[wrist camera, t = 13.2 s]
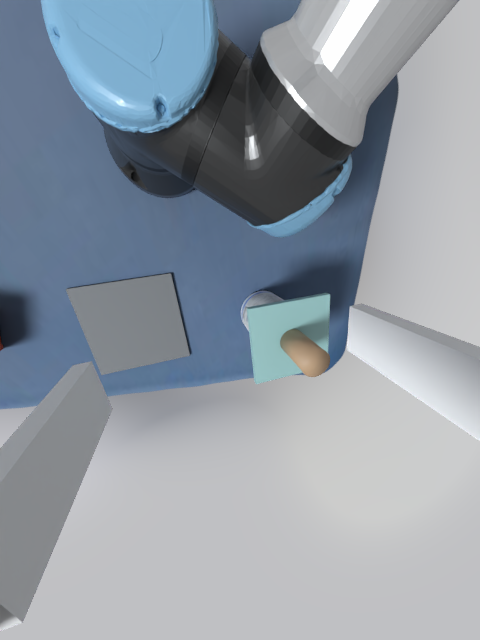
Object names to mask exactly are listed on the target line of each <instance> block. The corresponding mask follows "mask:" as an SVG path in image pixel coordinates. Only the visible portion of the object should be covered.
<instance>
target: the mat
mask: <svg viewBox="0 0 480 640" xmlns="http://www.w3.org/2000/svg"><path fill="white" fill-rule="evenodd" d="M66 291H67V294H68V296H69V299H70V301H71V303H72V306H73V308H74V310H75V313H76V315H77V318H78V320H79V322H80V325H81V327H82V329H83V332H84V334H85V337H86V339H87V341H88V344H89V346H90V349H91V351H92V353H93V356H94V358H95V360H96V363H97V365H98V368H99V370H100V372H101V375H103V374H108V373H113V372H117V371H122V370H126V369H131V368H135V367H140V366H145V365H149V364H154V363H158V362H163V361H167V360H172V359H177V358H181V357H186V356H190V353H189V348H188V344H187V340H186V335H185V331H184V327H183V322H182V318H181V314H180V309H179V305H178V301H177V296H176V292H175V288H174V284H173V279H172V275H171V273H168V274H161V275H154V276H148V277H141V278H135V279H128V280H121V281H115V282H108V283H102V284H95V285H88V286H82V287H75V288H68V289H66Z"/></svg>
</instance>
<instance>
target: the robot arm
mask: <svg viewBox="0 0 480 640" xmlns="http://www.w3.org/2000/svg"><path fill="white" fill-rule="evenodd" d="M458 1H459V0H301V3H300V5H299V7H298V9H297V11H296V13H295V14H294V15H293V16H292V18H291V19H290V20H289V21H286V22H284V23H282V24H279V25H277V26H275V27H272V28H270V29H267V30H265V31H264V32H263V34H262V36H261V39H260V41H259V44H258V46H257V49H256V51H255V54H254V56H253V58H252V60H251V59H250V58H248V57H247V56H246V55H245V54H244V53H243V52H242V51H241V50H240V49H239V48H238V47H237V46H236V45H235V44H234V43H233V42H232V41H231V40H230V39H229V38H228V37H226V36H225V35H224V34H223V33H222V32H221V31H220V30H219V29H218V19H217V13H216V9H215V5H214V1H213V0H41V5H42V12H43V16H44V21H45V25H46V28H47V31H48V34H49V38H50V41H51V43H52V45H53V48H54V50H55V52H56V55H57V57H58V59H59V61H60V63H61V64H62V66H63V68H64V70H65V71H66V73H67V76H68V79H69V81H70V83H71V85H72V86H73V88H74V90H75V92H76V93H77V94H78V95H79V97H80V98H81V100H82V101H83V102H85V104H86V106H87V107H88V108H89V109H90V110H91V111H92V112H93V114H94V115H95V116H96V118H97V119H98V120H99V122H100V123H101V124H102V126H103V127H104V134H105V138H106V142H107V145H108V148H109V151H110V153H111V155H112V157H113V159H114V161H115V163H116V164H117V166H118V167H119V169H120V170H121V171H122V172H123V174H124V175H125V176H126V177H127V178H128V179H129V180H130V181H131V182H132V183H133V184H134V185H136V186H137V187H138V188H140V189H141V190H143V191H144V192H146V193H149V194H151V195H154V196H157V197H162V198H174V197H179V196H182V195H184V194H186V193H188V192H190V191H191V190H192V189H194V188H196V189H197V190H199V191H200V192H202V193H204V194H205V195H207V196H208V197H210V198H211V199H213V200H215V201H216V202H218V203H219V204H221V205H223V206H224V207H226V208H227V209H229V210H230V211H232V212H234V213H235V214H237V215H238V216H240V217H242V218H243V219H245V220H246V221H247V223H248V224H249V225H250V226H252V227H255V228H258V229H261V230H262V231H264V232H266V233H268V234H269V235H271V236H274V237H287V236H291V235H294V234H296V233H298V232H300V231H302V230H303V229H305V228H306V227H308V226H309V225H310V224H312V223H313V222H314V221H316V220H317V219H318V218H319V217H320V216H321V215H322V214H323V213H324V212H325V211H326V210H327V209H328V208H329V207H330V206H331V204H332V203H333V202H334V196H336V195H337V194H338V193H340V192H341V191H342V190H343V188H344V186H345V185H346V183H347V181H348V179H349V176H350V173H351V170H352V158H351V152H352V151H353V150H354V149H355V148H356V147H357V146H358V145H359V144H360V143H361V141H362V139H363V133H364V127H365V121H366V115H367V112H368V110H369V107H370V105H371V104H372V103H373V101H374V100H375V99H376V98H377V97H378V95H379V94H380V93H381V92H382V91H383V90H384V88H385V87H386V86H387V85H388V84H389V82H390V81H391V80H392V79H393V78H394V77H395V75H396V74H397V73H398V72H399V71H400V70H401V68H402V67H403V66H404V65H405V64H406V62H407V61H408V60H409V59H410V58H411V57H412V55H413V54H414V53H415V52H416V51H417V49H418V48H419V47H420V46H421V45H422V44H423V42H424V41H425V40H426V39H427V38H428V36H429V35H430V34H431V33H432V32H433V31H434V29H435V28H436V27H437V26H438V25H439V24H440V22H441V21H442V20H443V19H444V18H445V16H446V15H447V14H448V13H449V12H450V10H451V9H452V8H453V7H454V6H455V5H456V3H457V2H458ZM347 350H348V351H349V352H351V353H352V354H354V355H355V356H357V357H358V358H360V359H361V360H362V361H364V362H365V363H367V364H368V365H370V366H371V367H373V368H374V369H376V370H377V371H379V372H380V373H381V374H383V375H384V376H386V377H387V378H389V379H390V380H392V381H393V382H394V383H396V384H397V385H399V386H400V387H402V388H403V389H405V390H406V391H407V392H409V393H411V394H412V395H413V396H415V397H416V398H418V399H419V400H421V401H422V402H423V403H425V404H426V405H428V406H429V407H431V408H432V409H434V410H435V411H437V412H438V413H440V414H441V415H443V416H444V417H445V418H447V419H448V420H450V421H451V422H453V423H454V424H456V425H457V426H459V427H460V428H461V429H463V430H464V431H466V432H467V433H469V434H470V435H471V436H473V437H474V438H476V439H477V440H479V441H480V347H478V346H475V345H473V344H470V343H467V342H464V341H461V340H459V339H456V338H454V337H451V336H448V335H445V334H443V333H440V332H437V331H435V330H432V329H429V328H426V327H424V326H421V325H418V324H416V323H413V322H410V321H408V320H405V319H402V318H400V317H397V316H394V315H391V314H389V313H386V312H383V311H380V310H378V309H375V308H372V307H370V306H367V305H364V304H358V305H353V306H350V311H349V326H348V341H347ZM111 411H112V406H111V404H110V402H109V400H108V397H107V395H106V393H105V391H104V388H103V386H102V384H101V382H100V379H99V377H98V375H97V372H96V370H95V368H94V366H93V363H92V361H91V362H87V363H82V364H77V365H73V366H72V367H71V368H70V369H69V370H68V372H67V373H66V374H65V375H64V376H63V377H62V378H61V380H60V381H59V382H58V383H57V384H56V385H55V386H54V388H53V389H52V390H51V391H50V392H49V393H48V394H47V396H46V397H45V398H44V399H43V400H42V401H41V402H40V404H39V405H38V406H37V407H36V408H35V409H34V411H33V412H32V413H31V414H30V415H29V416H28V417H27V418H26V420H25V421H24V422H23V423H22V424H21V425H20V427H19V428H18V429H17V430H16V431H15V432H14V433H13V434H12V436H11V437H10V438H9V439H8V440H7V442H6V443H5V444H4V445H3V446H2V447H1V448H0V631H2V630H5V629H7V628H9V627H12V626H15V625H18V624H20V623H23V620H24V618H25V616H26V613H27V611H28V609H29V606H30V604H31V602H32V599H33V597H34V594H35V592H36V590H37V587H38V585H39V583H40V580H41V578H42V575H43V573H44V571H45V568H46V566H47V563H48V561H49V559H50V556H51V554H52V552H53V549H54V547H55V545H56V542H57V540H58V537H59V535H60V533H61V530H62V528H63V525H64V523H65V521H66V518H67V516H68V513H69V511H70V509H71V506H72V504H73V501H74V499H75V497H76V494H77V492H78V490H79V487H80V485H81V483H82V480H83V478H84V475H85V473H86V471H87V468H88V466H89V464H90V461H91V459H92V456H93V454H94V452H95V449H96V447H97V445H98V442H99V440H100V437H101V435H102V433H103V430H104V428H105V425H106V423H107V421H108V418H109V416H110V413H111Z"/></svg>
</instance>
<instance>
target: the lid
mask: <svg viewBox="0 0 480 640" xmlns="http://www.w3.org/2000/svg"><path fill="white" fill-rule="evenodd" d="M329 312H330V294H329V293H322V294H316V295H311V296H306V297H300V298H295V299H289V300H284V301H279V302H273V303H268V304H262V305H257V306H252V307H247V316H248V326H249V335H250V344H251V354H252V363H253V372H254V380H255V383H256V384H258V383H262V382H266V381H270V380H274V379H278V378H282V377H286V376H290V375H294V374H298V373H302V372H303V373H304V374H305V375H307V376H309V377H316V376H319V375H321V374H322V373H323V372H324V371H325V370H326V369H327V368H328V366H329V363H330V356H329V354H328V337H329Z"/></svg>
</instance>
